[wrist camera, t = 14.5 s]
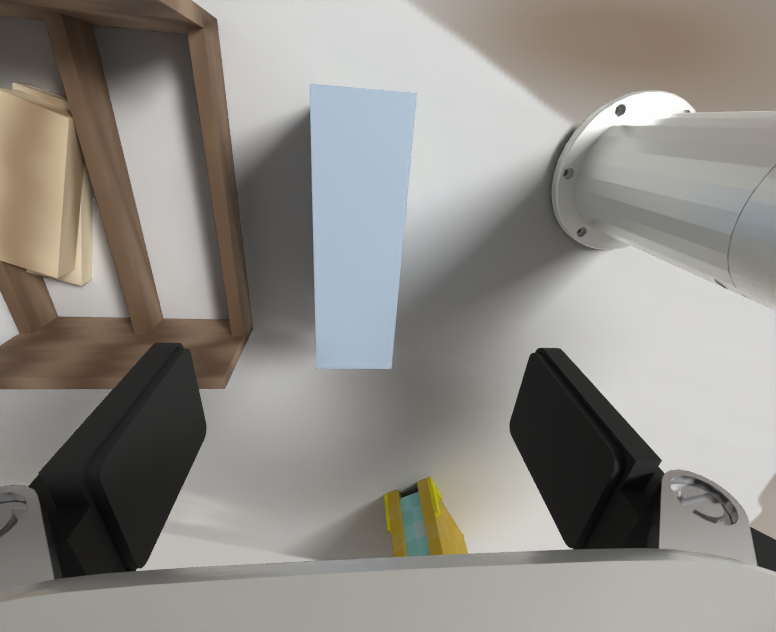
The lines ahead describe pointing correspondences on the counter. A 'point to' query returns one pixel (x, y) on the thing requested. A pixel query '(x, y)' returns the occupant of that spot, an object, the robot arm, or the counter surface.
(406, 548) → the book
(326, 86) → the blue-grey rectangular block
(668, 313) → the counter surface
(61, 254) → the offcut top
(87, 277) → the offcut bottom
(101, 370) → the rack
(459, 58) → the counter surface
